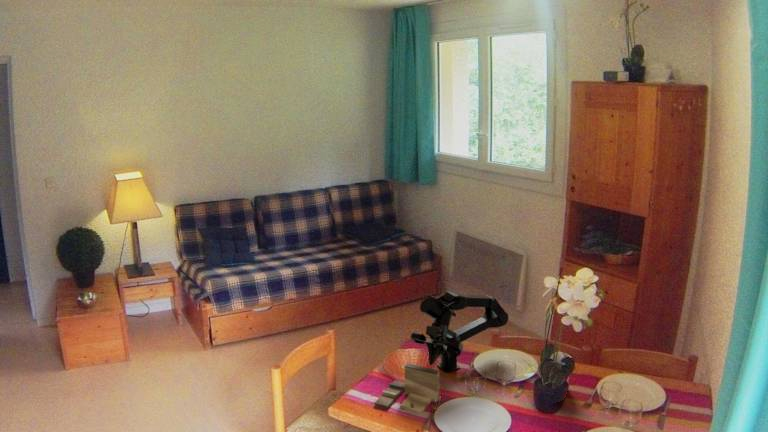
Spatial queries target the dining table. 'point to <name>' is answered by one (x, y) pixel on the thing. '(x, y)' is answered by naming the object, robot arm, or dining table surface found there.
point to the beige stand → (420, 387)
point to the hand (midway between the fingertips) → (430, 364)
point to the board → (390, 394)
